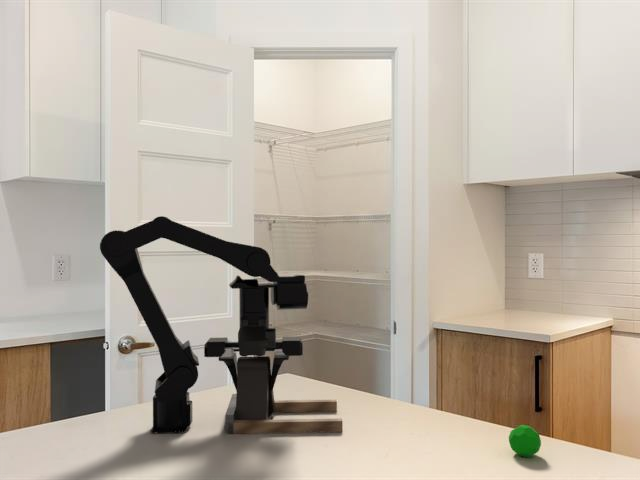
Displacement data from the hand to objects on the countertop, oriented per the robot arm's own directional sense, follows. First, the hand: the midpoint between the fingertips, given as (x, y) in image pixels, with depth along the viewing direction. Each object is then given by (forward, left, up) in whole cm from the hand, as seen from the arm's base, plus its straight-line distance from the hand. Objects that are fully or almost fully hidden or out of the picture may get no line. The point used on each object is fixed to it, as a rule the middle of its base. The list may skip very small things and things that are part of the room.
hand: (254, 390), depth 114 cm
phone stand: (0, 0, -6) cm, 6 cm away
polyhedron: (+46, -20, -6) cm, 50 cm away
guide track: (+6, 0, -6) cm, 8 cm away
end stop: (-4, 0, -6) cm, 7 cm away
